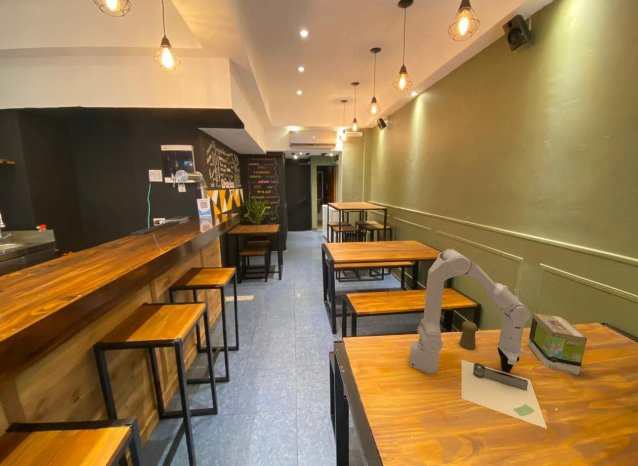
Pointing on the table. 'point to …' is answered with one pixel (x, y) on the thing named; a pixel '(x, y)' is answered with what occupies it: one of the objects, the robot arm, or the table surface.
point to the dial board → (501, 396)
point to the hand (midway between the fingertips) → (505, 370)
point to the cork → (468, 335)
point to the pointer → (499, 376)
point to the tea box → (557, 343)
